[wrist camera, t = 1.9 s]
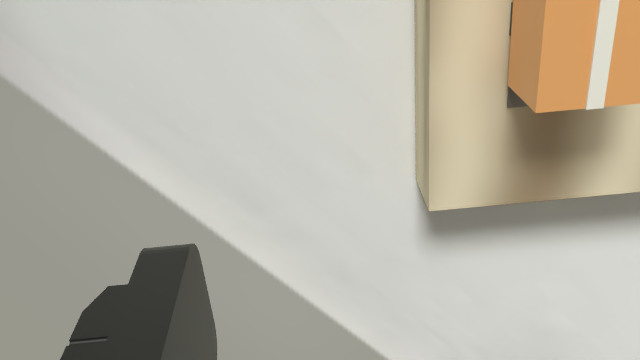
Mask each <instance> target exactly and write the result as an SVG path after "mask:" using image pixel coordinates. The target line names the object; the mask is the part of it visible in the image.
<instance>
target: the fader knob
mask: <svg viewBox="0 0 640 360" xmlns="http://www.w3.org/2000/svg"><path fill="white" fill-rule="evenodd" d="M508 86H509V87H510V88H511V89H512V90H513V91H514V92H515V93H516V94H517V95H518V96H519V97H520V98H521V99H522V100H523V101H524V102H525V103H526V104H527V105H528V106H529V107H530V108H531V109H532V110H533V111H534V112H535V113H543V112H554V111H565V110H576V109H586V110H588V109H599V108H604V107H608V106H619V105H630V104H640V0H513V11H512V26H511V41H510V56H509V71H508Z"/></svg>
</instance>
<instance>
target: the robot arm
mask: <svg viewBox="0 0 640 360" xmlns="http://www.w3.org/2000/svg"><path fill="white" fill-rule="evenodd" d="M69 341H70V345H69V346H66V348H65V350H64V353H63V355H62V357H61V359H60V360H217V339H216V330H215V323H214V319H213V314H212V309H211V305H210V300H209V296H208V291H207V286H206V282H205V276H204V272H203V267H202V263H201V258H200V254H199V251H198V248H197V246H196V245H195V244H185V245H175V246H165V247H154V248H144V249H143V250H142V251H141V253H140V255H139V258H138V260H137V262H136V265H135V268H134V270H133V273H132V275H131V278H130V281H129V283H128V284H127V285H117V286H108V287H107V288H106V289H105V290H104V291H103V292H102V293H101V294H100V295H99V296H98V297H97V298H96V299H95V300H94V301H93V302H92V303H91V304H90V305H89V306H88V307H87V308H86V309H85V310H84V311H83V312H82V314H81V316H80V318H79V320H78V323H77V325H76V327H75V329H74V331H73V333H72V335H71V338H70V340H69Z"/></svg>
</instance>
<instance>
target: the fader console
mask: <svg viewBox="0 0 640 360" xmlns="http://www.w3.org/2000/svg"><path fill="white" fill-rule="evenodd" d="M512 11H513V0H415V119H416V181H417V183H418V186H419V188H420V191H421V193H422V196H423V198H424V201H425V203H426V206H427V208H428V211H438V210H449V209H460V208H471V207H482V206H492V205H503V204H514V203H525V202H536V201H546V200H557V199H568V198H579V197H590V196H600V195H611V194H622V193H633V192H640V104H630V105H619V106H608V107H604V108H599V109H588V110H586V109H576V110H565V111H554V112H543V113H535V112H534V111H533V110H532V109H531V108H530V107H529V106H528V105H527V104H526V103H525V102H524V101H523V100H522V99H521V98H520V97H519V96H518V95H517V94H516V93H515V92H514V91H513V90H512V89H511V88H510V87H509V86H508V71H509V56H510V41H511V26H512Z"/></svg>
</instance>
